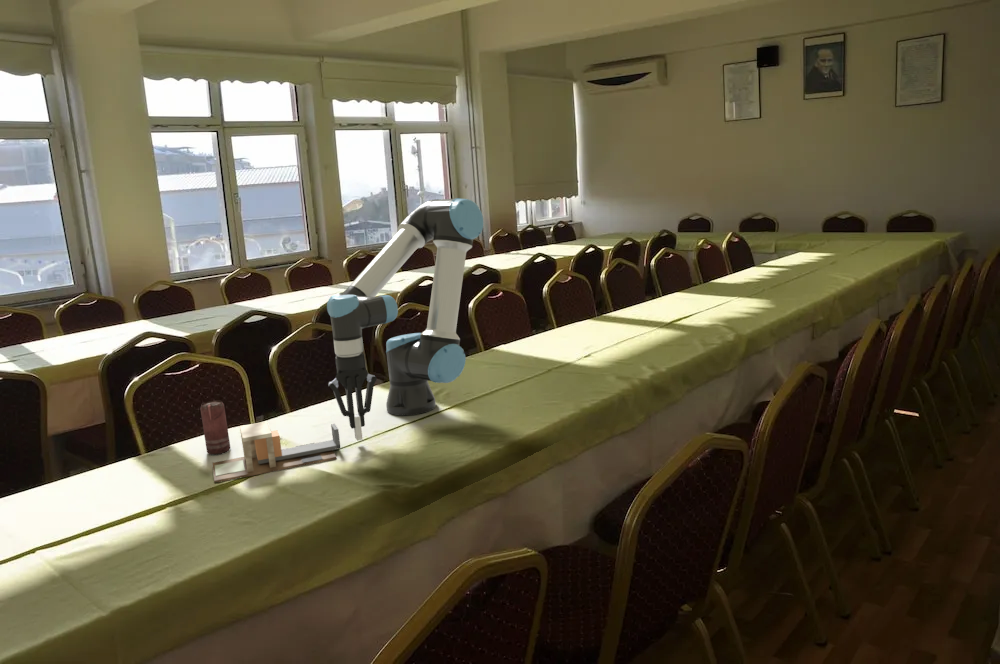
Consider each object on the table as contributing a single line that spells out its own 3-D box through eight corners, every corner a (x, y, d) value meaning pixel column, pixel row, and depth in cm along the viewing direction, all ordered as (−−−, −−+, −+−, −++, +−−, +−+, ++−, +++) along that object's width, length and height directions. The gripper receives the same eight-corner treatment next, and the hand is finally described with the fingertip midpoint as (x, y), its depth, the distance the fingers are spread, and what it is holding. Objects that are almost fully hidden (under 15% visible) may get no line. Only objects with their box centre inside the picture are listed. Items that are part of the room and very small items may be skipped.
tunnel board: (327, 443, 215) (323, 409, 213) (336, 459, 203) (332, 423, 201) (212, 464, 205) (207, 430, 203) (214, 483, 192) (208, 446, 190)
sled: (337, 442, 212) (334, 419, 211) (340, 448, 207) (337, 425, 206) (256, 457, 204) (253, 434, 203) (258, 464, 200) (255, 440, 198)
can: (206, 457, 211) (198, 407, 208) (208, 449, 217) (200, 401, 214) (229, 453, 212) (222, 404, 210) (231, 446, 218) (224, 398, 216)
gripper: (370, 347, 212) (379, 430, 217) (322, 354, 208) (332, 439, 212) (376, 352, 205) (385, 438, 210) (327, 360, 201) (337, 447, 205)
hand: (358, 438), depth 211 cm, fingers closed
